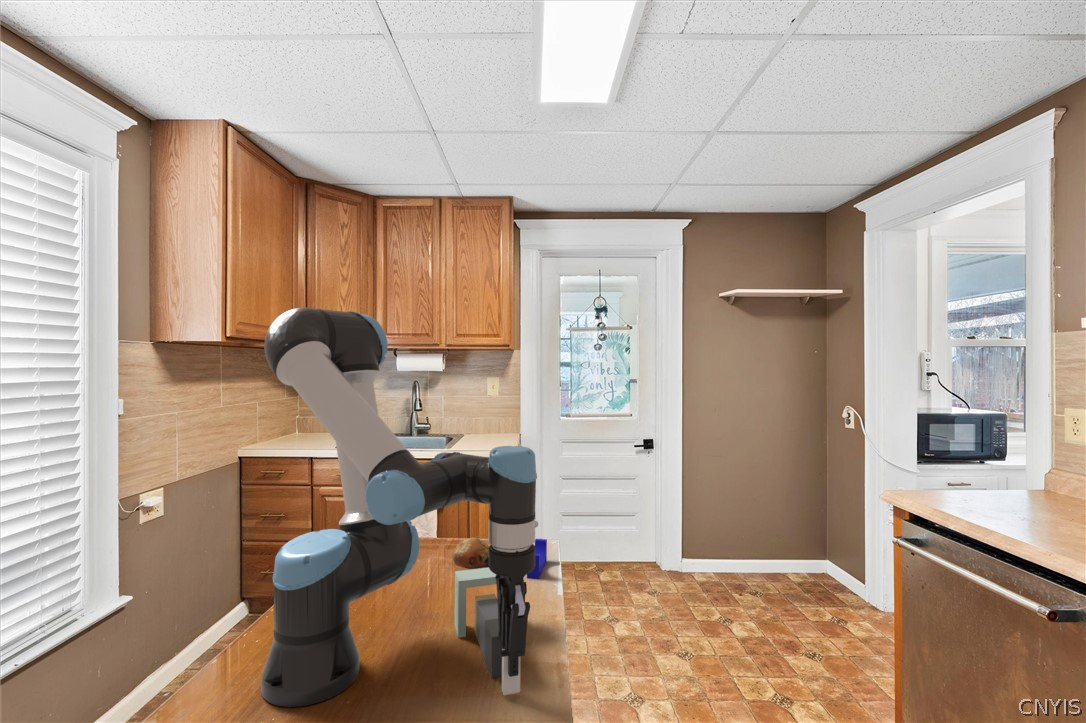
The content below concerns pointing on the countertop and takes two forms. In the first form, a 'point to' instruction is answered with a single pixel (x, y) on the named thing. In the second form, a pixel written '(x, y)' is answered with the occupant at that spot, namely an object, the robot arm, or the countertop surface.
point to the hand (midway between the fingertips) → (510, 690)
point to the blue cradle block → (539, 558)
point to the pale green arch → (461, 583)
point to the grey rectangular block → (489, 632)
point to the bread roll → (471, 553)
